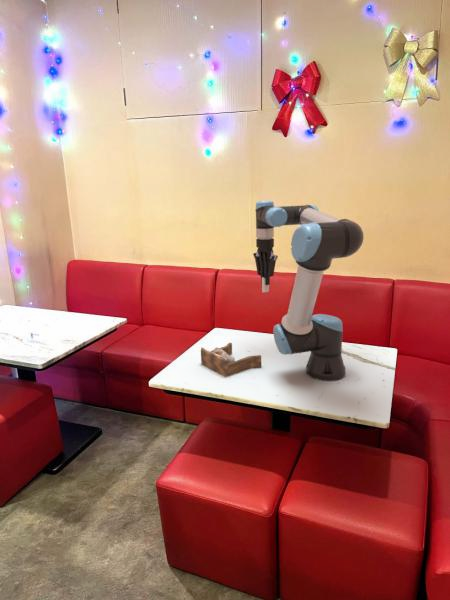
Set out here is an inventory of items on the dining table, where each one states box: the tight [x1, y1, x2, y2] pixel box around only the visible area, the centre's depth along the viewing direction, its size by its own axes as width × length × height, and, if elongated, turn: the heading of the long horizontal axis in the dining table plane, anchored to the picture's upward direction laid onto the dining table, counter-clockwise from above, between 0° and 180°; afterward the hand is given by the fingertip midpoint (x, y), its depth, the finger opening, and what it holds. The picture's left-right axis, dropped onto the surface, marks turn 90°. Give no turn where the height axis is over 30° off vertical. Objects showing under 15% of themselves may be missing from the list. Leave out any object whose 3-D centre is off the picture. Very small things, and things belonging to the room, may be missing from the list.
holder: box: [200, 342, 262, 378], centre depth 177 cm, size 21×18×8 cm
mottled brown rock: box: [212, 347, 236, 364], centre depth 177 cm, size 8×10×10 cm
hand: (265, 291), depth 188 cm, fingers closed
